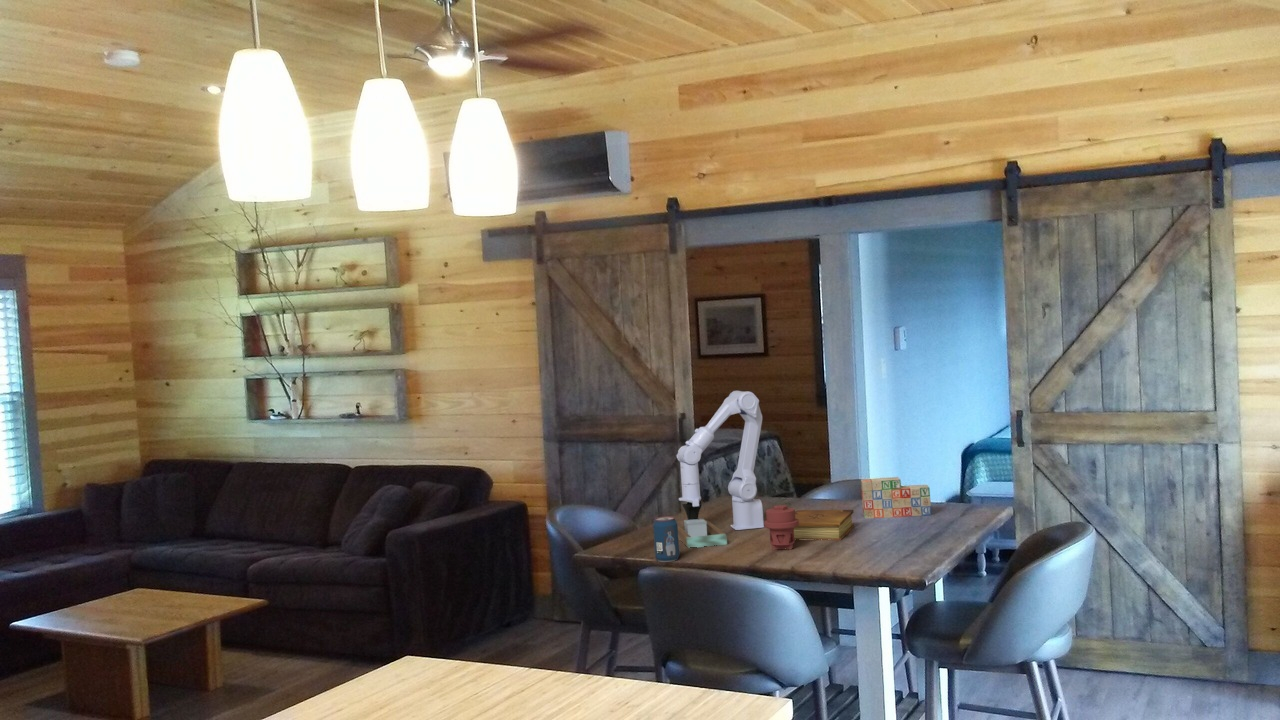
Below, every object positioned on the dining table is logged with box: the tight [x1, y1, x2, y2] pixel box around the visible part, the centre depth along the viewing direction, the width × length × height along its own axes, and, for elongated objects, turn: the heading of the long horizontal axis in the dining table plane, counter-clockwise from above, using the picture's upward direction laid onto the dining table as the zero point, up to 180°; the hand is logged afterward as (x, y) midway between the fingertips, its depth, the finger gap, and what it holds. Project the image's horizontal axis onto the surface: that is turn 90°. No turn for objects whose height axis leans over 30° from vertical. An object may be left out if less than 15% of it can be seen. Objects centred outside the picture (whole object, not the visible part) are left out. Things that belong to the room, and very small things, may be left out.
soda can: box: [652, 515, 680, 563], centre depth 322 cm, size 7×7×12 cm
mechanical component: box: [763, 504, 799, 550], centre depth 327 cm, size 12×10×10 cm
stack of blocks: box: [860, 476, 932, 519], centre depth 368 cm, size 21×6×12 cm, turn 83°
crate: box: [683, 518, 708, 537], centre depth 355 cm, size 6×6×5 cm
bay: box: [677, 519, 728, 549], centre depth 352 cm, size 12×28×3 cm, turn 8°
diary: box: [794, 509, 855, 541], centre depth 348 cm, size 23×19×6 cm
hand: (693, 525), depth 359 cm, fingers closed
